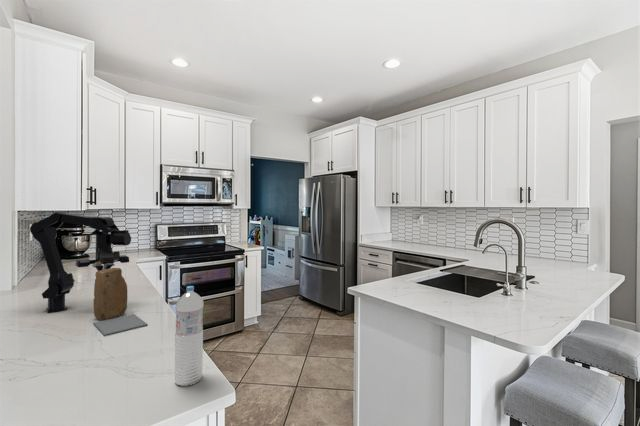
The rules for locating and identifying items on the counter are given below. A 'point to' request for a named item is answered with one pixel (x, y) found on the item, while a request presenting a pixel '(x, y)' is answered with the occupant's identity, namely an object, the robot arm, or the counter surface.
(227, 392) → the counter surface
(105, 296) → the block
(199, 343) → the water bottle
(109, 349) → the counter surface
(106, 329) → the mat
